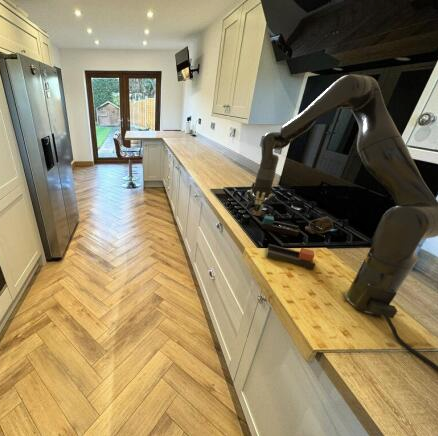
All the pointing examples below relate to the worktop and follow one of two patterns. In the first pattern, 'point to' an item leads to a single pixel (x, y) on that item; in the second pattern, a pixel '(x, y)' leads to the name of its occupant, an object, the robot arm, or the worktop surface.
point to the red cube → (306, 255)
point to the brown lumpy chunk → (320, 225)
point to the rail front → (288, 256)
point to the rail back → (281, 228)
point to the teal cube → (268, 220)
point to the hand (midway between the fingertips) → (256, 210)
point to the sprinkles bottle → (259, 210)
